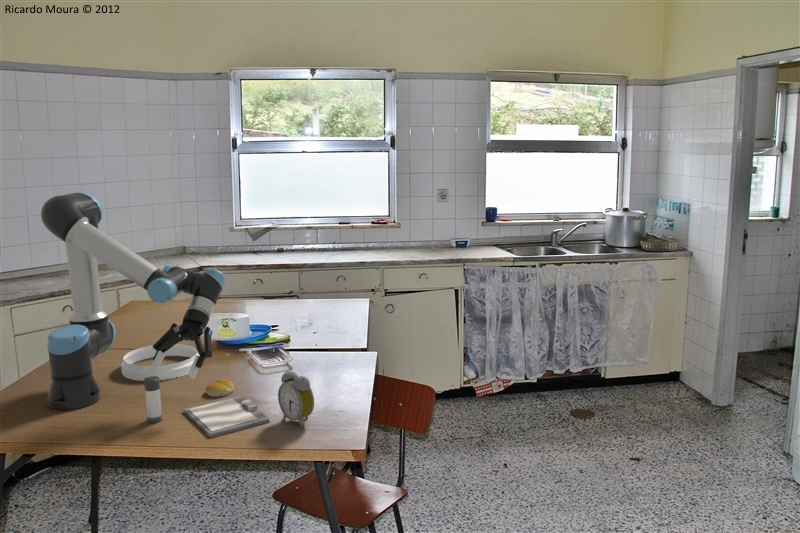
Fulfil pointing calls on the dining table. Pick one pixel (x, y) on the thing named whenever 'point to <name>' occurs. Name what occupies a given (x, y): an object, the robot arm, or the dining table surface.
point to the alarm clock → (295, 397)
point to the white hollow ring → (164, 370)
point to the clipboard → (226, 416)
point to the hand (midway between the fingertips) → (171, 374)
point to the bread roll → (220, 388)
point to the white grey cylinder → (153, 399)
